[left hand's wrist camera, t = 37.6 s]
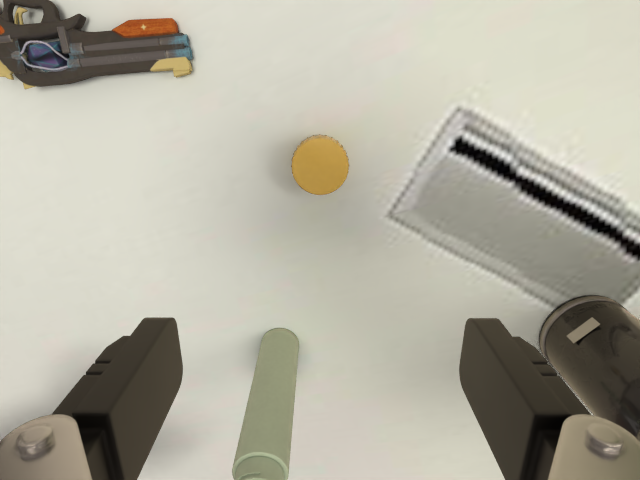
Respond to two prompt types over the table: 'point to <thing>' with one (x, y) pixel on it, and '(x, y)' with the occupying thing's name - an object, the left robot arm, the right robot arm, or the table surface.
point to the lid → (320, 165)
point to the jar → (269, 411)
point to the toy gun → (86, 47)
